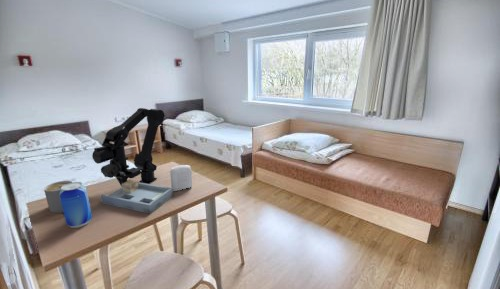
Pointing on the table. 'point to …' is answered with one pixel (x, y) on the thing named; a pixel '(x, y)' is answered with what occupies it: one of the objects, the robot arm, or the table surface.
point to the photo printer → (181, 177)
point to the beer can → (75, 204)
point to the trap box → (139, 198)
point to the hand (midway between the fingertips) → (123, 186)
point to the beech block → (130, 186)
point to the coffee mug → (54, 196)
